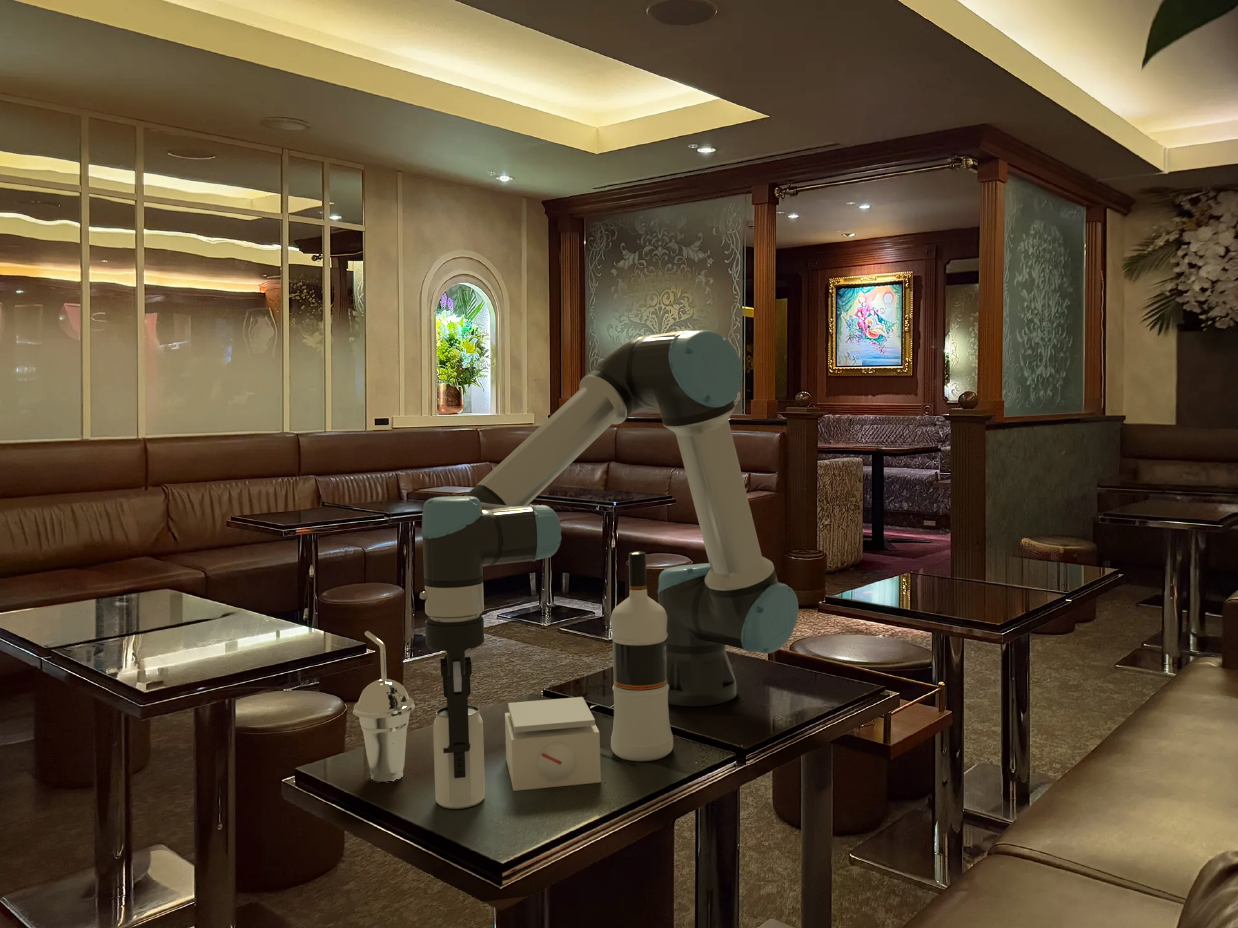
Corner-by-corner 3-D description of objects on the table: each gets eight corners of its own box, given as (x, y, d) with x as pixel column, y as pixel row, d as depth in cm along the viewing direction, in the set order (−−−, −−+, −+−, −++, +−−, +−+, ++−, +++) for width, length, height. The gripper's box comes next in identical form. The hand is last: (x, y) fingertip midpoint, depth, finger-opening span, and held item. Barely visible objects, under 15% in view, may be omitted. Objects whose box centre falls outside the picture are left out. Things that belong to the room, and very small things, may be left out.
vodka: (600, 748, 148) (594, 551, 146) (653, 737, 152) (648, 545, 151) (630, 767, 140) (624, 558, 138) (685, 755, 144) (680, 552, 142)
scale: (587, 752, 147) (585, 695, 146) (601, 784, 134) (600, 722, 134) (506, 759, 144) (504, 702, 144) (513, 792, 132) (511, 730, 131)
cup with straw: (353, 790, 134) (347, 646, 133) (358, 767, 143) (352, 631, 142) (417, 784, 136) (412, 641, 134) (417, 761, 144) (412, 627, 143)
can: (489, 791, 133) (486, 703, 132) (479, 810, 126) (476, 717, 126) (442, 791, 133) (439, 703, 133) (429, 809, 127) (427, 717, 126)
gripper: (425, 604, 135) (430, 771, 137) (424, 631, 118) (430, 821, 119) (480, 601, 137) (484, 766, 138) (487, 627, 120) (492, 815, 121)
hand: (459, 791), depth 129 cm, fingers closed on can, 4 cm apart
